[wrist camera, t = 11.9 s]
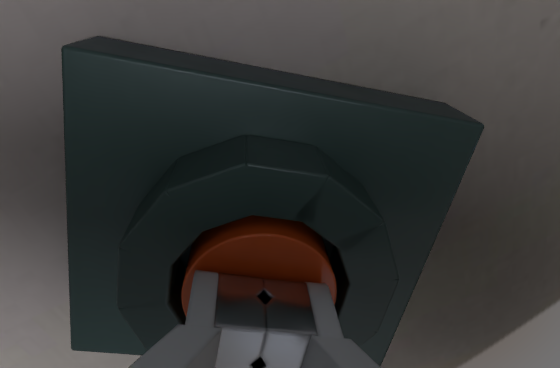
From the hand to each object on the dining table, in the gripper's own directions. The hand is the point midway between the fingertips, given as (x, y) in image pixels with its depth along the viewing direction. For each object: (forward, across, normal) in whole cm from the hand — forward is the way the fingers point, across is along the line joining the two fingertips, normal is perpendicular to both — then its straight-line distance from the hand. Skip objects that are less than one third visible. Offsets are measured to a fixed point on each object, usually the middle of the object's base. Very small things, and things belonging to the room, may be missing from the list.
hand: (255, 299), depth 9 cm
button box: (+4, 0, 0) cm, 4 cm away
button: (+2, 0, 0) cm, 2 cm away
